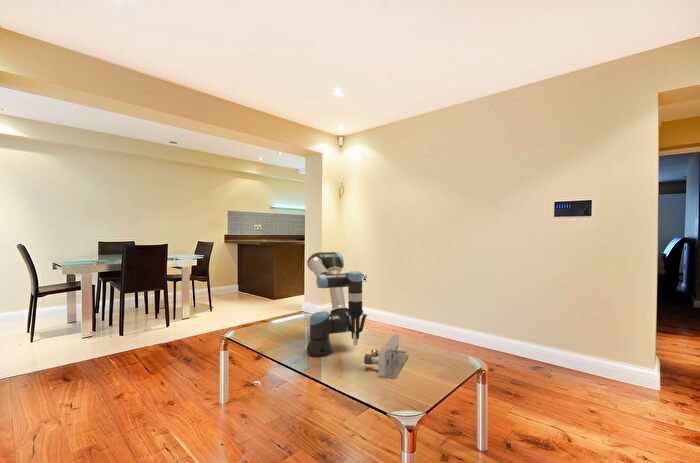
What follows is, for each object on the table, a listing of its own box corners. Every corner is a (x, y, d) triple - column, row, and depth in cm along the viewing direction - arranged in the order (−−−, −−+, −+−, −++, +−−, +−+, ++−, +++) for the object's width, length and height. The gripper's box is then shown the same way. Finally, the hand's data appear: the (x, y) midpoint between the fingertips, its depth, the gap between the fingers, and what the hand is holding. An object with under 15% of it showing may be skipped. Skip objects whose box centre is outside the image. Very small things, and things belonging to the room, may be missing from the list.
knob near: (364, 365, 164) (364, 355, 164) (367, 361, 168) (367, 352, 168) (384, 368, 159) (384, 359, 159) (387, 365, 164) (387, 355, 164)
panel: (378, 376, 157) (378, 352, 157) (394, 354, 185) (394, 334, 185) (395, 379, 154) (395, 354, 154) (408, 356, 181) (408, 336, 181)
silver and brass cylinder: (370, 357, 172) (370, 350, 172) (372, 355, 176) (372, 348, 176) (389, 360, 168) (389, 353, 168) (391, 358, 172) (391, 350, 172)
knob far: (385, 354, 178) (385, 345, 178) (387, 351, 183) (387, 343, 183) (404, 357, 174) (404, 348, 174) (406, 354, 178) (406, 345, 178)
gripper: (341, 300, 167) (341, 345, 167) (364, 302, 162) (364, 348, 162) (346, 298, 174) (347, 341, 174) (369, 300, 169) (369, 344, 169)
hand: (355, 344), depth 168 cm, fingers closed
